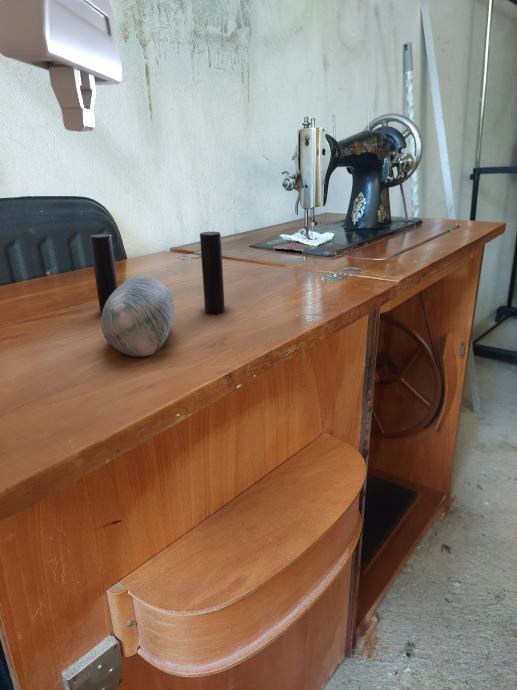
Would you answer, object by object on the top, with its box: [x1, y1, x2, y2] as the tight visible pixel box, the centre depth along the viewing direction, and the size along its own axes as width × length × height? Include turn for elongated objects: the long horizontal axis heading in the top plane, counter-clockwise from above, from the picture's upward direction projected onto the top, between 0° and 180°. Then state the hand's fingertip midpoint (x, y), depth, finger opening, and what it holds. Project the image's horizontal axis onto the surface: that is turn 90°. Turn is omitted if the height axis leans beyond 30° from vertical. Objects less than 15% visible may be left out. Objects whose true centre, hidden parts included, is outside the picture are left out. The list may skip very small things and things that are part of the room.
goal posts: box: [89, 231, 226, 316], centre depth 77 cm, size 19×3×12 cm, turn 88°
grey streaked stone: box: [100, 276, 175, 358], centre depth 65 cm, size 14×10×10 cm
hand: (80, 131), depth 46 cm, fingers closed
